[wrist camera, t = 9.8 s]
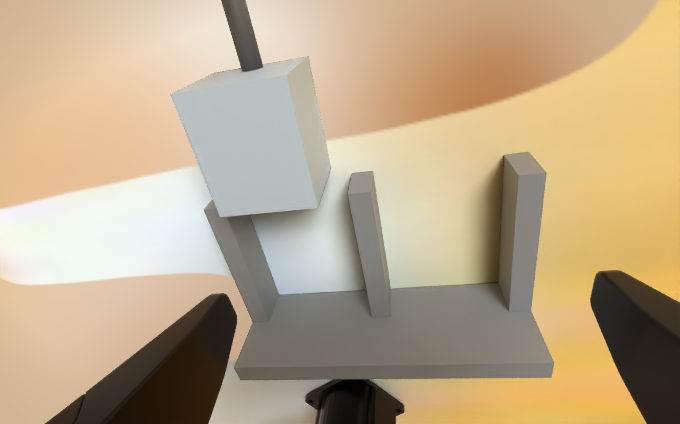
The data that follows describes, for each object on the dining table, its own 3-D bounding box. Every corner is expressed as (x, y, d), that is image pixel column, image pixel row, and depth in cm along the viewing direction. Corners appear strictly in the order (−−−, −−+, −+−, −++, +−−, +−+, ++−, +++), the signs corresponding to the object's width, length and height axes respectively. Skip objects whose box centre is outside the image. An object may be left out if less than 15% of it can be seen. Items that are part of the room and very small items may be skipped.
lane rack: (516, 295, 24) (551, 377, 19) (268, 307, 27) (240, 380, 22) (528, 152, 19) (580, 212, 14) (221, 189, 22) (171, 247, 17)
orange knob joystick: (331, 167, 21) (316, 213, 16) (249, 176, 22) (215, 222, 17) (265, -152, 14) (211, -214, 10) (151, -118, 15) (56, -160, 11)
